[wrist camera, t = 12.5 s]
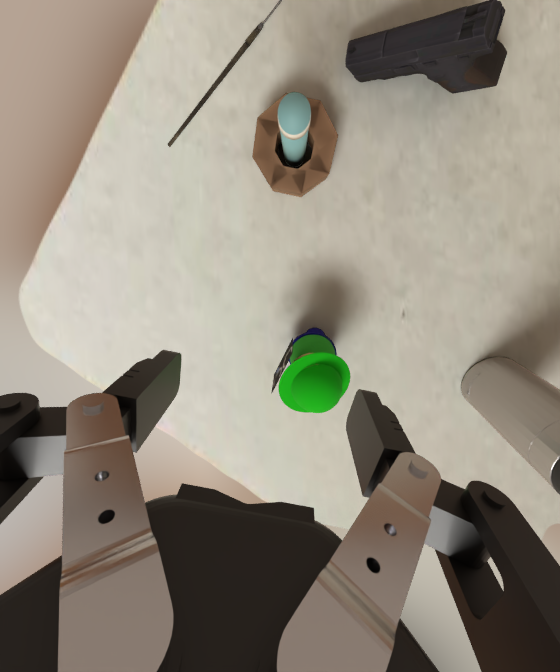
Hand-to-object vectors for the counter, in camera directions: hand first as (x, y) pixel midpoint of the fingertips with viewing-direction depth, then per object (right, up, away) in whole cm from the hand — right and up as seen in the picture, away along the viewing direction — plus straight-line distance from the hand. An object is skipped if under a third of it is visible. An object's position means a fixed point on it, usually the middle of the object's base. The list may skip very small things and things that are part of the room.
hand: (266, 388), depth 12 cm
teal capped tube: (+2, +25, +22) cm, 34 cm away
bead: (+2, +25, +22) cm, 34 cm away
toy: (+5, +1, +32) cm, 32 cm away
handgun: (+16, +32, +19) cm, 41 cm away
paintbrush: (-4, +34, +20) cm, 40 cm away
